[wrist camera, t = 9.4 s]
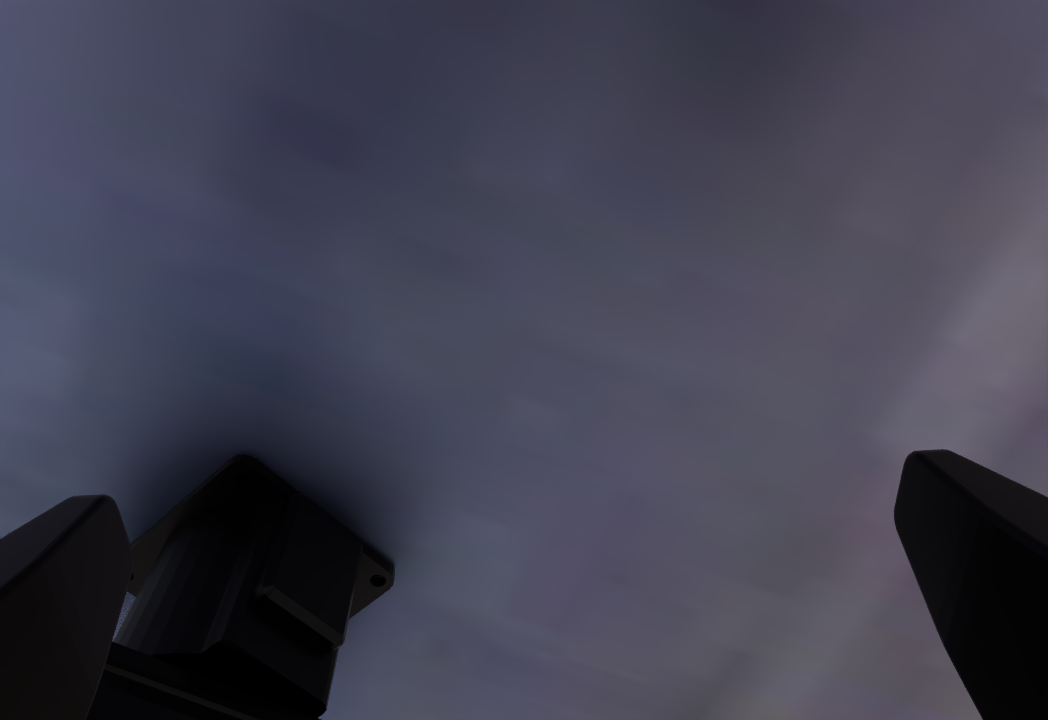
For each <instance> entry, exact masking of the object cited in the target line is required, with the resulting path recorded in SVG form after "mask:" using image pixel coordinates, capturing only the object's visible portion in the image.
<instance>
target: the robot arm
mask: <svg viewBox="0 0 1048 720" xmlns="http://www.w3.org/2000/svg"><path fill="white" fill-rule="evenodd" d="M238 469H243V470H245V471H247V472H248V473H249V474H250V475H242V474H239V473H238V471H237V470H238ZM894 521H895V526H896V529H897V532H898V535H899V537H900V540H901V542H902V545H903V547H904V550H905V552H906V555H907V557H908V560H909V562H910V565H911V567H912V570H913V572H914V575H915V577H916V580H917V582H918V585H919V587H920V590H921V592H922V595H923V597H924V600H925V602H926V605H927V607H928V609H929V612H930V614H931V617H932V619H933V622H934V624H935V627H936V629H937V631H938V634H939V636H940V638H941V641H942V643H943V645H944V647H945V649H946V651H947V653H948V655H949V657H950V659H951V661H952V663H953V665H954V667H955V669H956V671H957V672H958V674H959V676H960V678H961V680H962V682H963V684H964V685H965V687H966V689H967V691H968V693H969V695H970V697H971V699H972V700H973V702H974V704H975V706H976V708H977V710H978V712H979V713H980V715H981V717H982V719H983V720H1048V497H1046V496H1044V495H1042V494H1040V493H1038V492H1036V491H1034V490H1032V489H1030V488H1027V487H1025V486H1023V485H1021V484H1019V483H1017V482H1015V481H1013V480H1011V479H1009V478H1006V477H1004V476H1002V475H1000V474H998V473H996V472H994V471H992V470H990V469H988V468H985V467H983V466H981V465H979V464H977V463H975V462H973V461H971V460H969V459H967V458H965V457H962V456H960V455H958V454H956V453H954V452H952V451H949V450H944V449H940V450H922V451H913V452H912V453H910V454H909V455H908V456H907V458H906V460H905V462H904V466H903V470H902V475H901V480H900V484H899V489H898V493H897V498H896V503H895V508H894ZM374 575H382V576H384V577H383V578H377V577H374ZM394 576H395V570H394V567H393V566H392V565H391V564H390V563H389V562H388V561H386V560H385V559H384V558H382V557H381V556H380V555H379V554H377V553H376V552H375V551H373V550H372V549H371V548H370V547H368V546H367V545H366V544H364V543H363V542H362V540H361V539H360V538H359V537H358V536H356V535H355V534H354V533H352V532H351V531H350V530H349V529H347V528H346V527H345V526H343V525H342V524H341V523H340V522H338V521H337V520H336V519H334V518H333V517H332V516H331V515H329V514H328V513H327V512H325V511H324V510H323V509H322V508H320V507H319V506H318V505H317V504H315V503H314V502H313V501H311V500H310V499H309V498H308V497H306V496H305V495H302V494H300V493H299V492H298V491H296V490H295V489H294V488H293V487H291V486H290V485H289V484H287V483H286V482H285V481H284V480H282V479H281V478H280V477H279V476H277V475H276V474H275V473H273V472H272V471H271V470H270V469H268V468H267V467H266V466H264V465H263V464H262V463H261V462H259V461H258V460H257V459H255V458H253V457H251V456H249V455H244V454H243V455H236V456H235V457H233V458H231V459H230V460H229V461H228V462H227V463H225V464H224V465H223V466H222V467H221V468H220V469H218V470H217V471H216V472H215V473H214V474H213V475H211V476H210V477H209V478H208V479H207V480H206V481H205V482H203V483H202V484H201V485H200V486H199V487H198V488H196V489H195V490H194V491H193V492H192V493H191V494H189V495H188V496H187V497H186V498H185V499H184V500H182V501H181V502H180V503H179V504H178V505H177V506H176V507H174V508H173V509H172V510H171V511H170V512H169V513H167V514H166V515H165V516H164V517H163V518H162V519H160V520H159V521H158V522H157V523H156V524H155V525H153V526H152V527H151V528H150V529H149V530H148V531H147V532H145V533H144V534H143V535H142V536H141V537H140V538H138V539H137V540H136V541H135V542H134V543H133V544H131V545H130V542H129V539H128V536H127V533H126V530H125V527H124V524H123V521H122V518H121V515H120V512H119V509H118V506H117V504H116V502H115V501H114V499H113V498H112V497H110V496H108V495H104V494H103V495H84V496H73V497H70V498H68V499H66V500H64V501H63V502H61V503H59V504H58V505H56V506H54V507H53V508H51V509H49V510H48V511H46V512H44V513H43V514H41V515H39V516H38V517H36V518H34V519H33V520H31V521H29V522H28V523H26V524H24V525H23V526H21V527H19V528H18V529H16V530H14V531H13V532H11V533H9V534H8V535H6V536H4V537H3V538H1V539H0V720H321V719H319V718H318V717H319V716H321V715H322V714H324V712H325V711H326V709H327V705H328V700H329V695H330V690H331V685H332V680H333V675H334V670H335V665H336V661H337V656H338V651H339V647H340V646H341V645H342V644H343V643H344V640H345V635H346V630H347V625H348V620H349V619H350V618H351V617H352V616H354V615H355V614H356V613H358V612H359V611H360V610H362V609H363V608H365V607H366V606H367V605H369V604H370V603H371V602H373V601H374V600H375V599H377V598H378V597H380V596H381V595H382V594H384V593H385V592H386V591H388V590H389V589H390V588H391V587H392V586H393V582H394ZM127 591H128V592H129V593H131V594H132V595H134V596H135V597H136V599H135V601H134V603H133V604H132V606H131V608H130V610H129V612H128V614H127V616H126V618H125V620H124V622H123V624H122V626H121V627H120V629H119V631H118V633H117V635H116V637H115V639H114V641H112V639H113V636H114V632H115V629H116V626H117V622H118V619H119V615H120V612H121V609H122V605H123V602H124V599H125V595H126V592H127Z"/></svg>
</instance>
